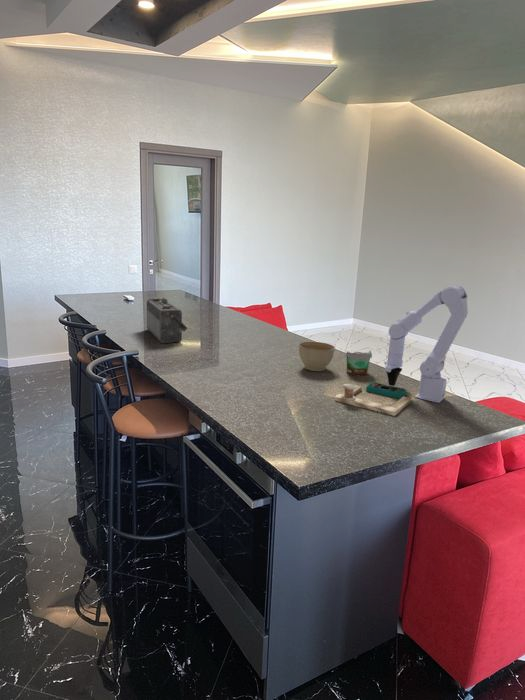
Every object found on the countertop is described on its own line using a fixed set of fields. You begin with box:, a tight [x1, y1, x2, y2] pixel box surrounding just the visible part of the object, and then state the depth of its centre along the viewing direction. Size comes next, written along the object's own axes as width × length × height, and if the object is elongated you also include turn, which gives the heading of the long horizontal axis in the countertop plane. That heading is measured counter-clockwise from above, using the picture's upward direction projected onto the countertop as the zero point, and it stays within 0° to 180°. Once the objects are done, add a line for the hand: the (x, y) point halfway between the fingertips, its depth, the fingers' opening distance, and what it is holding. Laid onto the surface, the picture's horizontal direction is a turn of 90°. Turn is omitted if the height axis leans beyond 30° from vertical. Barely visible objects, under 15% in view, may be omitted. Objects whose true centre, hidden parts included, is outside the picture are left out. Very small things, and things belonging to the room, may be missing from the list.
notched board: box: [334, 383, 412, 417], centre depth 180 cm, size 23×18×6 cm
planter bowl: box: [298, 341, 336, 372], centre depth 218 cm, size 16×16×11 cm
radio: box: [146, 297, 188, 344], centre depth 266 cm, size 38×14×20 cm, turn 24°
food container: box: [344, 350, 373, 377], centre depth 213 cm, size 12×6×10 cm, turn 105°
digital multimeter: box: [365, 381, 407, 400], centre depth 191 cm, size 7×15×3 cm, turn 57°
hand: (391, 385), depth 196 cm, fingers closed
